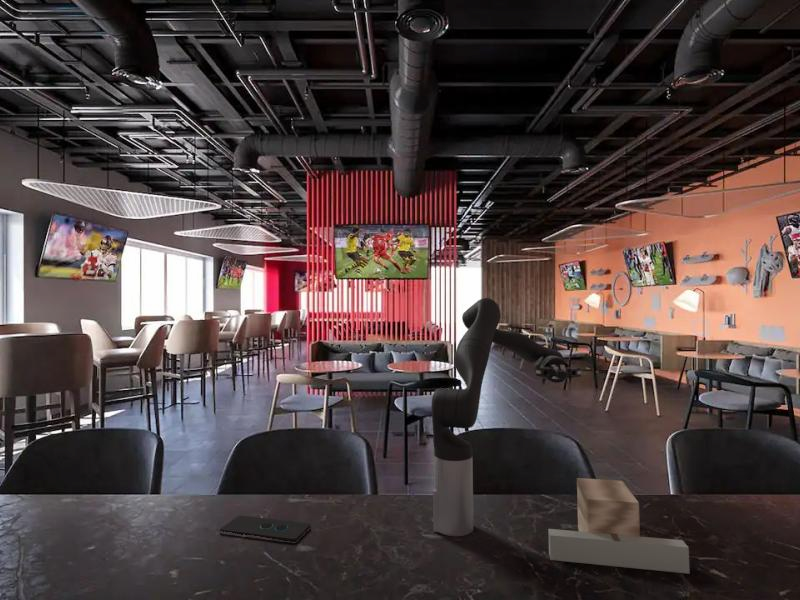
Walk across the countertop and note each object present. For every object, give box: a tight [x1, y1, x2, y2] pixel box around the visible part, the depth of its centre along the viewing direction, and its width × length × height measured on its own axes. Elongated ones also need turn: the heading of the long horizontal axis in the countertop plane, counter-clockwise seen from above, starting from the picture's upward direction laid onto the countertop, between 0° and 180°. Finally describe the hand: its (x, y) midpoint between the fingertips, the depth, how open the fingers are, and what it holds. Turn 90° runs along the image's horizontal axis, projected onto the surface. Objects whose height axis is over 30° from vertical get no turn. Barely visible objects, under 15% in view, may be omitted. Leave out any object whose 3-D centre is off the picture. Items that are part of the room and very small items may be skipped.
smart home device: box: [219, 515, 311, 542], centre depth 107 cm, size 8×2×20 cm
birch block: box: [576, 477, 641, 537], centre depth 100 cm, size 10×13×12 cm
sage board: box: [547, 528, 691, 574], centre depth 92 cm, size 26×3×5 cm, turn 78°
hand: (562, 375), depth 120 cm, fingers closed
